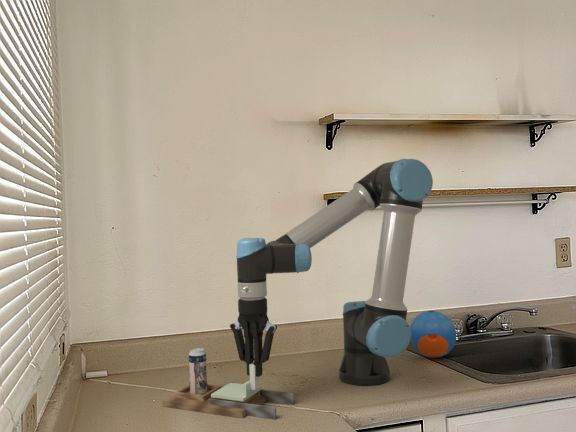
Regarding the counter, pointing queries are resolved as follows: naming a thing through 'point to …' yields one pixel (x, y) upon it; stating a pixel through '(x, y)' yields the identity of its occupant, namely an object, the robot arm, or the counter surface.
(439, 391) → the counter surface
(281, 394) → the housing
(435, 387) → the counter surface
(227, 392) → the lid
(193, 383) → the beer can
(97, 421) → the counter surface
